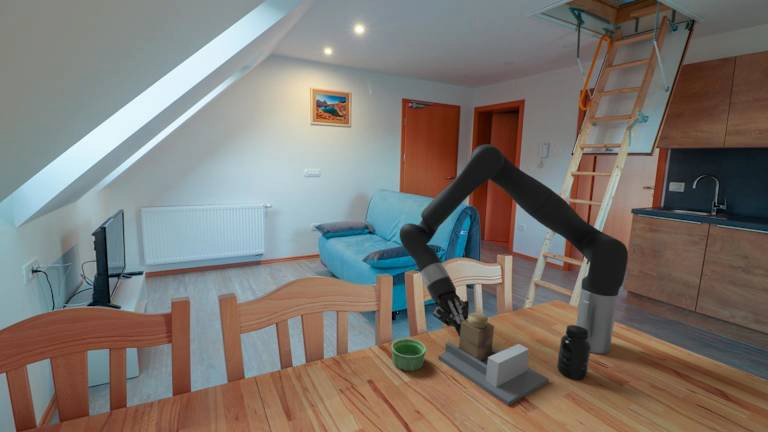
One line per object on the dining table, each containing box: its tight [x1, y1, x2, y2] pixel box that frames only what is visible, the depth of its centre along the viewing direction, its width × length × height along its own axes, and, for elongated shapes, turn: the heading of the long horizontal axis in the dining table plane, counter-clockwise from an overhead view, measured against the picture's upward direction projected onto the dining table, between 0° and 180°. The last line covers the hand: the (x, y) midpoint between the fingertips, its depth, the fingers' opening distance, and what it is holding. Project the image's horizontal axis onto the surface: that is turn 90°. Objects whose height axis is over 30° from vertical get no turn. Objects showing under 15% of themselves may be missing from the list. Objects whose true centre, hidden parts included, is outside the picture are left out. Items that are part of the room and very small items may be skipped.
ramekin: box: [391, 338, 427, 372], centre depth 94 cm, size 9×9×4 cm
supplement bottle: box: [556, 324, 591, 381], centre depth 92 cm, size 7×7×12 cm
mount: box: [437, 341, 550, 406], centre depth 93 cm, size 16×23×7 cm
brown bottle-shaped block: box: [458, 312, 495, 362], centre depth 96 cm, size 6×6×11 cm
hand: (466, 337), depth 99 cm, fingers closed
